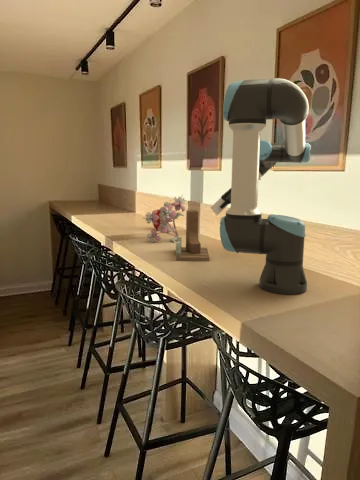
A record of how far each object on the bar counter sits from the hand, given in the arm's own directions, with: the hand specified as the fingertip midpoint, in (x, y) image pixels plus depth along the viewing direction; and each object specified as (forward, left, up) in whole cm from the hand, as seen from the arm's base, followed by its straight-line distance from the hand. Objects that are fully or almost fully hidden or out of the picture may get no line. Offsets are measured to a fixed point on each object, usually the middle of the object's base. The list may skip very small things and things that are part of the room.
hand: (213, 211), depth 168 cm
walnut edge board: (-3, +9, -19) cm, 22 cm away
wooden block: (-2, +9, -18) cm, 20 cm away
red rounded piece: (+64, +28, -19) cm, 72 cm away
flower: (+27, +24, -19) cm, 41 cm away
